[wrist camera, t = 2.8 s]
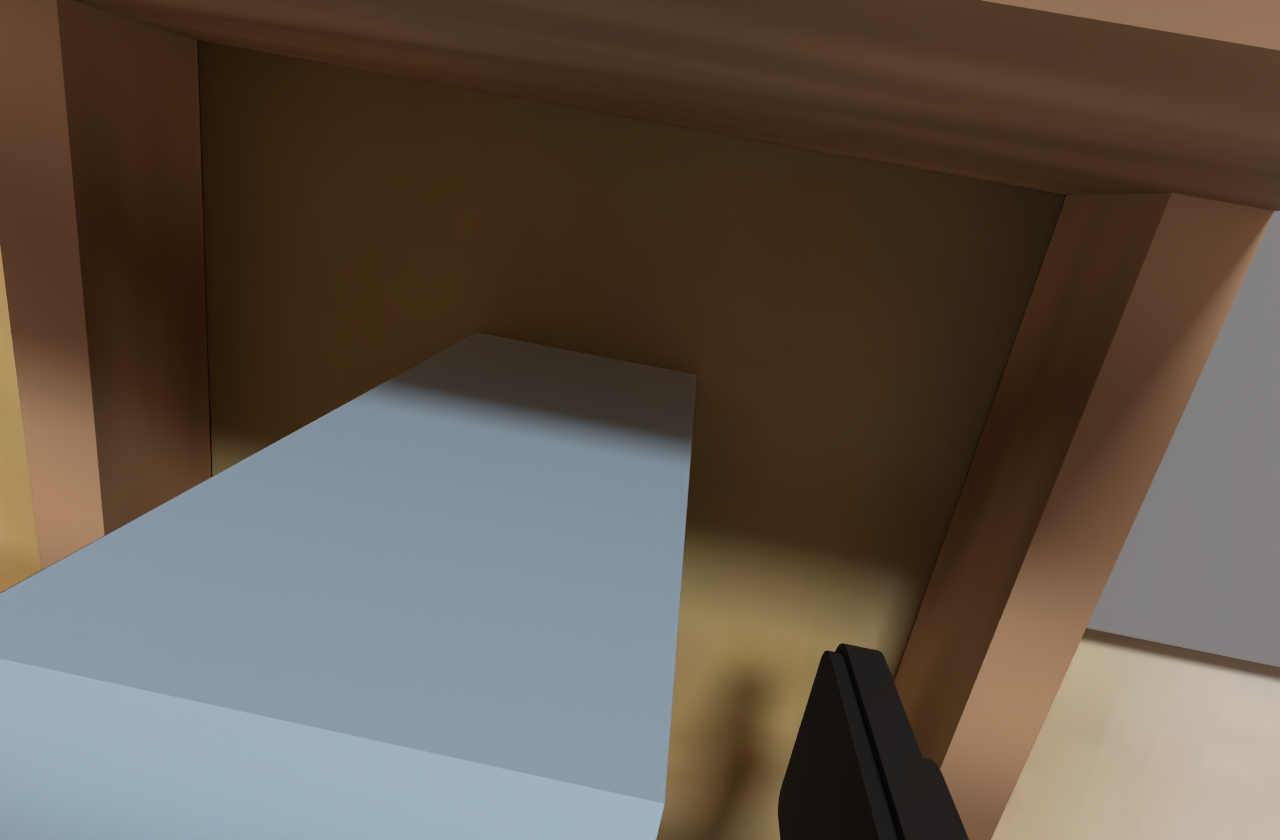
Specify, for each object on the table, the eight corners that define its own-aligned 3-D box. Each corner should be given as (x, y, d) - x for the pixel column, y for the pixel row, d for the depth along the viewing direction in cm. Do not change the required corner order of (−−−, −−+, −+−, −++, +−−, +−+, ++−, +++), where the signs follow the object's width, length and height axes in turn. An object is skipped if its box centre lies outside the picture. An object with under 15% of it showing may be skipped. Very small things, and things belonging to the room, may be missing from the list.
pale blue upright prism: (623, 733, 14) (497, 1497, 6) (441, 694, 15) (63, 1382, 6) (696, 374, 12) (663, 803, 3) (475, 332, 12) (-85, 641, 4)
